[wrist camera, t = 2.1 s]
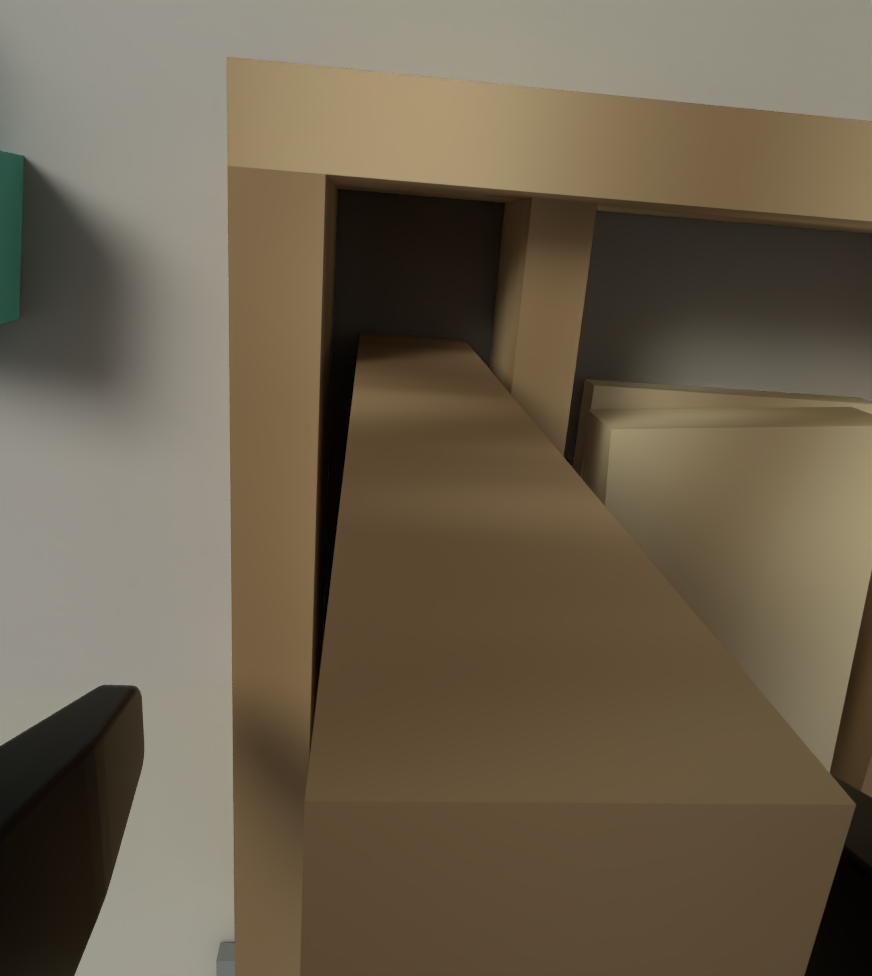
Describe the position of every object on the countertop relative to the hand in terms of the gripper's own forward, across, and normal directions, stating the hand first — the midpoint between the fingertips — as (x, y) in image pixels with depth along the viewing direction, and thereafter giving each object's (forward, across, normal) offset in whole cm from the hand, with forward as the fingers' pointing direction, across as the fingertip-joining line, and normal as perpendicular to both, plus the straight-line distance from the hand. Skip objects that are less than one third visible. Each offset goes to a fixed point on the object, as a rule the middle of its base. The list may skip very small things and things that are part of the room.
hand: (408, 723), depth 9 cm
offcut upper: (+4, -5, 0) cm, 6 cm away
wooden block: (+4, 0, 0) cm, 4 cm away
